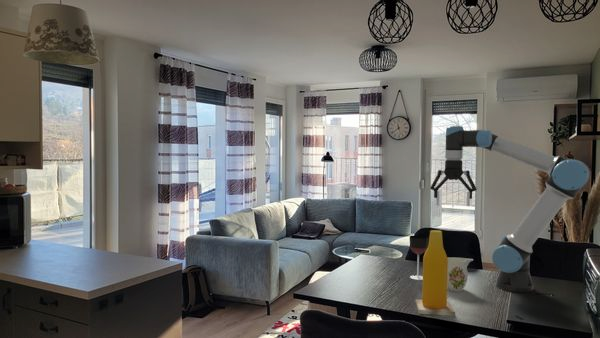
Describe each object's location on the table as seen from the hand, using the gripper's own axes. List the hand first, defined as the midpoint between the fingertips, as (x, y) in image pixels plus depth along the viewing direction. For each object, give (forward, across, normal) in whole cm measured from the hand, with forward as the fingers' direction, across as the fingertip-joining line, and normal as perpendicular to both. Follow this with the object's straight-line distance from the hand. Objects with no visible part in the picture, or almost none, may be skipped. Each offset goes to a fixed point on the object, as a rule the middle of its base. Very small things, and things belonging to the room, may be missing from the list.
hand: (452, 205), depth 200 cm
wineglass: (+37, +14, -8) cm, 40 cm away
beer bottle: (+35, +13, +36) cm, 52 cm away
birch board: (+37, +13, +36) cm, 53 cm away
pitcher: (+37, +1, +8) cm, 38 cm away
